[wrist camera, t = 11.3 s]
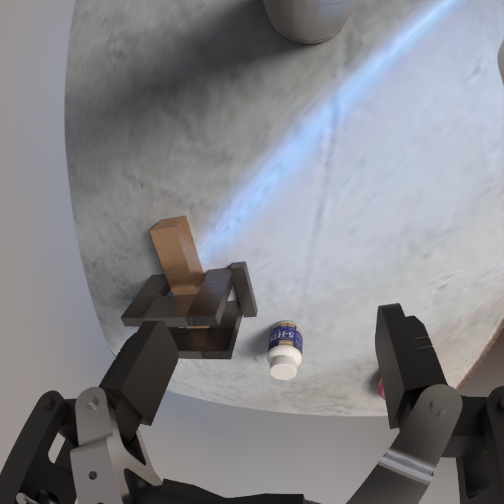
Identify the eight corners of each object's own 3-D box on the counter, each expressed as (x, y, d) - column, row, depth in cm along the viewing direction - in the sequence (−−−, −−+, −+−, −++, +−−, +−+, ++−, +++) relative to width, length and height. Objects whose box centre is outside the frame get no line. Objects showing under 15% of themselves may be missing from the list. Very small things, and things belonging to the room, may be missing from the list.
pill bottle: (294, 315, 45) (293, 357, 37) (307, 337, 47) (307, 378, 39) (265, 325, 47) (258, 366, 39) (279, 345, 49) (274, 385, 41)
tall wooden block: (161, 219, 40) (149, 231, 37) (186, 215, 40) (175, 226, 36) (197, 321, 49) (190, 337, 45) (219, 321, 48) (214, 337, 44)
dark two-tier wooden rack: (135, 272, 46) (102, 313, 36) (245, 261, 42) (230, 310, 32) (154, 315, 50) (128, 358, 40) (257, 310, 46) (246, 362, 36)
